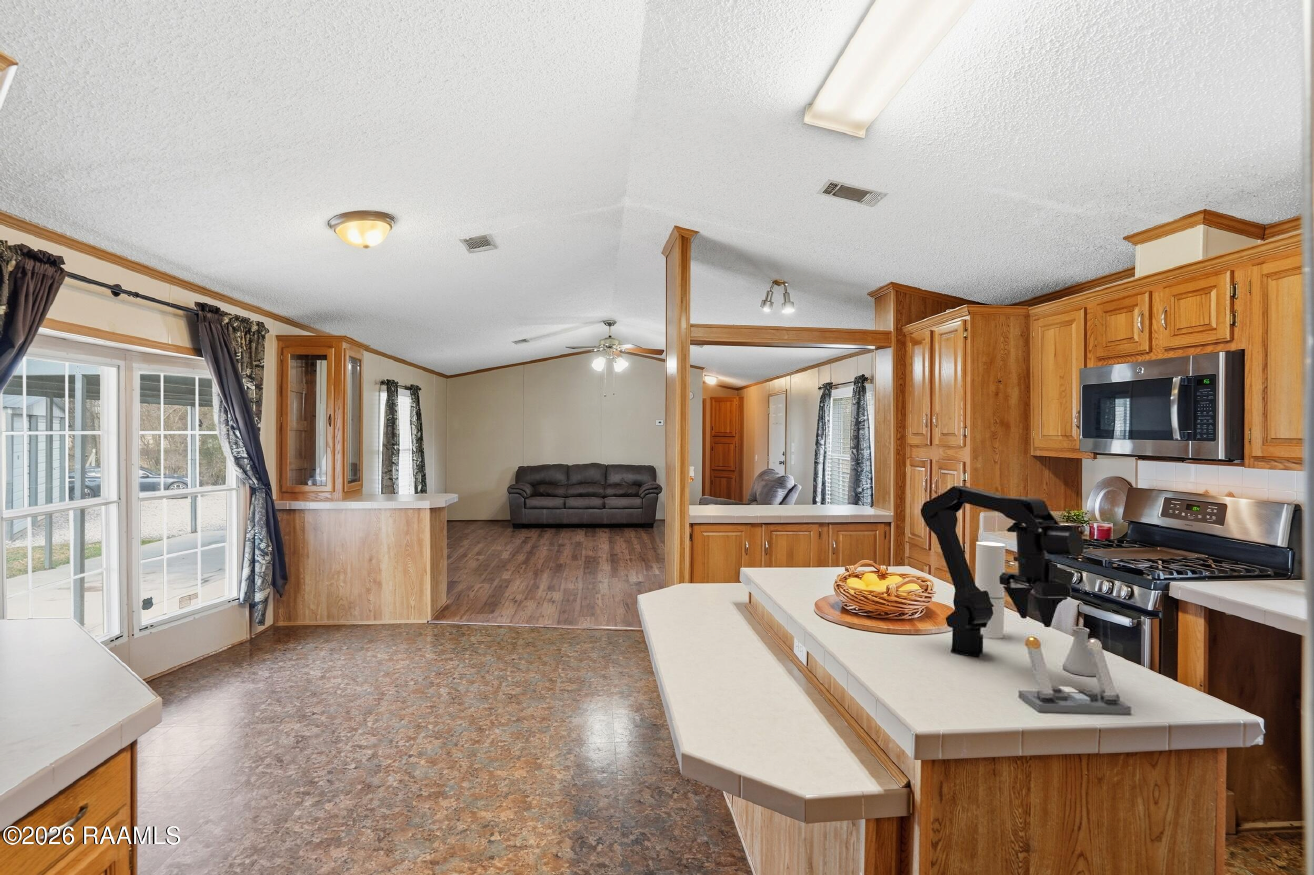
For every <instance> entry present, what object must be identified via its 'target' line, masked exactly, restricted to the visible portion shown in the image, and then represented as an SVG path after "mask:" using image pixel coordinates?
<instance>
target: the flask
mask: <svg viewBox="0 0 1314 875" xmlns="http://www.w3.org/2000/svg"><path fill="white" fill-rule="evenodd" d="M1072 629H1073V632H1074V635H1073V636H1074V637H1073V641H1072V644H1071V646H1070V648H1069V650H1068V653H1067V655H1066V657H1065V659H1064V661H1063V663H1062V670H1065V671H1067V672H1068V673H1071V674H1075V675H1079V676H1080V675H1081V676H1085V677H1096V675H1095V672H1094V668H1093V665H1092V662H1091V658H1090V655H1089V652H1088V649H1087V648H1086V641H1087V640H1088V639H1089V634H1090V629H1088V628H1086V627H1082V626H1073V627H1072Z"/></svg>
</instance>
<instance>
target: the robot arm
mask: <svg viewBox="0 0 1314 875" xmlns="http://www.w3.org/2000/svg"><path fill="white" fill-rule="evenodd" d="M965 504H967V505H971V506H975V507H978V508H982V509H986V510H990V511H995V512H998V513H1000V514H1002V515H1003V516H1004V517H1005V518H1006V519H1009V520H1011V521H1014V522H1013V523H1012V524H1011V525H1010V526H1009V527H1008V528H1007V529H1006V532H1008V533H1015V538H1016V554H1017V556H1013V561H1014V562H1016V563H1017V571H1015V572H1014V571H1013V572H1010V571H1009V572H1008V571H1005V572H1003V573H1002V574H1001V575H1000V576H999V579H1000V584H1002V585H1005V586H1003V588H1004V591H1005V592H1006V593H1007V595H1008V597H1009V598H1010V601H1011V602H1012V604H1013V605H1014V607H1015V609H1016V611H1017V613H1018V615H1019V617H1020V618H1021V619H1027V618H1028V611H1029V610H1028V608H1029V605H1028V604H1029V595H1030V594H1031V593H1032V591H1033V592H1034V594H1035V595H1033V599H1034V602H1035V604H1036V607H1037V610H1038V613H1039V617H1040V618H1041V621H1042V624H1043V626H1044V628H1051V626H1052V624H1053V620H1054V618H1055V617H1054V616H1055V613H1056V611H1057V608H1058V606H1059V604H1061V603H1062V602H1063V601H1066V600H1068V598H1069V597H1072V596H1073V595H1072V585H1073V582H1074V578H1075V574H1076V573H1075V572H1073V571H1070V570H1067V569H1065V568H1062V567H1059V565H1058V564H1057V563H1054V562H1053V560H1052V559H1051V558H1048V557H1047V554H1048V555H1051V556H1061V557H1071V558H1078V557H1080V556H1082V554H1083V553H1084V549H1085V540H1084V539H1083V536H1082V534H1081V532H1080V531H1078V528H1077V527H1078V526H1077V525H1076V524H1063V525H1061V524H1060V523H1059V521H1058V520H1057V519H1056V518H1055V516H1054V515H1053V513H1052V512H1051V511H1050V510H1049V507H1048V505H1047V503H1046V501H1045V500H1044V499H1042V498H1039V497H1028V496H1027V497H1026V496H1025V497H1024V496H1023V497H1021V496H1007V495H1002V494H998V493H994V492H990V491H985V490H981V489H977V488H973V487H969V486H968V485H954V486H951V487H950V488H948V489H947V490H946V491H944V492H943V493H940V494H939V495H936V496H935V497H933V498H931V500H927V501H924V502H923V504H922V506H921V507H920V515H921V517H922V520H923V522H924V523H925V525H926V527H927V528H928V529H929V530H930V531H931V532H932V533H933V535H935V537H936V539H937V541H938V544H939V547H940V550H941V553H942V556H943V558H944V559H943V560H944V562H945V564H946V568H947V570H948V573H949V576H950V578H951V582H952V585H953V587H954V588H953V589H954V596H953V601H952V602H953V608H954V610H953V611H952V612H951V613H949V614H948V615H947V616H946V617H945V622H946V627H949V628H951V629H952V632H951V633H952V637H951V638H952V640H951V648H950V653H953V654H960V655H965V656H971V657H977V658H979V657H981V654H983V652H984V637H983V634H981V628H986V626H987V624H988V621H989V620H990V619H991V618H992V615H993V609H992V607H994V605H993V604H992V603H991V601H990V597H989V593H988V592H987V591H981V590H980V589H979V588H978V587H977V586H976V585H975V580H974V578H973V574H972V572H971V569H970V567H969V563H968V560H967V558H966V556H965V552H964V550H963V546H962V544H961V541H960V539H959V536H958V533H957V525H958V515H957V513H958V512H960V511H961V510H962V509H963V508H964V507H965Z"/></svg>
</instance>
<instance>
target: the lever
mask: <svg viewBox="0 0 1314 875" xmlns="http://www.w3.org/2000/svg"><path fill="white" fill-rule="evenodd" d="M1086 648H1087V649H1088V652H1089V655H1090V658H1091V662H1092V665H1093V668H1094V672H1095V675H1096V676H1095V678H1096V682H1097V684H1098V685H1097V686H1098V687H1099V690H1100V691H1099V692H1101V693H1100V698H1101V700H1102V701H1111V702H1119V700H1120V698H1121V697H1120V695H1119V694H1118V692H1117V691H1116V688H1115V684H1114V682H1113V680H1112V676H1111V672H1110V669H1109V667H1108V663H1107V660H1106V657H1105V654H1104V650H1103V645H1102V643H1101V641H1100V640H1099V639H1097V638H1095V637H1091V638H1088V640H1087V641H1086ZM1120 701H1121V700H1120Z"/></svg>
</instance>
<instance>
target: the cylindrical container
mask: <svg viewBox="0 0 1314 875" xmlns="http://www.w3.org/2000/svg"><path fill="white" fill-rule="evenodd" d="M975 543H976V544H975V545H976V546H975V580H974V582H975V585H976V586H977V587H978V588H979V589H980V590H981V591H987V592H988V593H989V597H990V601H991V603H992V604H993V605H994V607H992V609H993V615H992V618H991V619H990V620H989V621H988V624H987V626H986V628H981V634H983V638H986V639H987V638H989V639H994V640H995V639H997V638H998V639H1002V638H1004V633H1005V632H1004V631H1005V630H1004V624H1005V620H1004V618H1005V589H1004V588H1003V586H1005V585H1002V584H1000V579H999V576H1000V575H1001V574H1002V573H1003V572H1006V544H1004V543H1001V542H996V541H976V542H975Z"/></svg>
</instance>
